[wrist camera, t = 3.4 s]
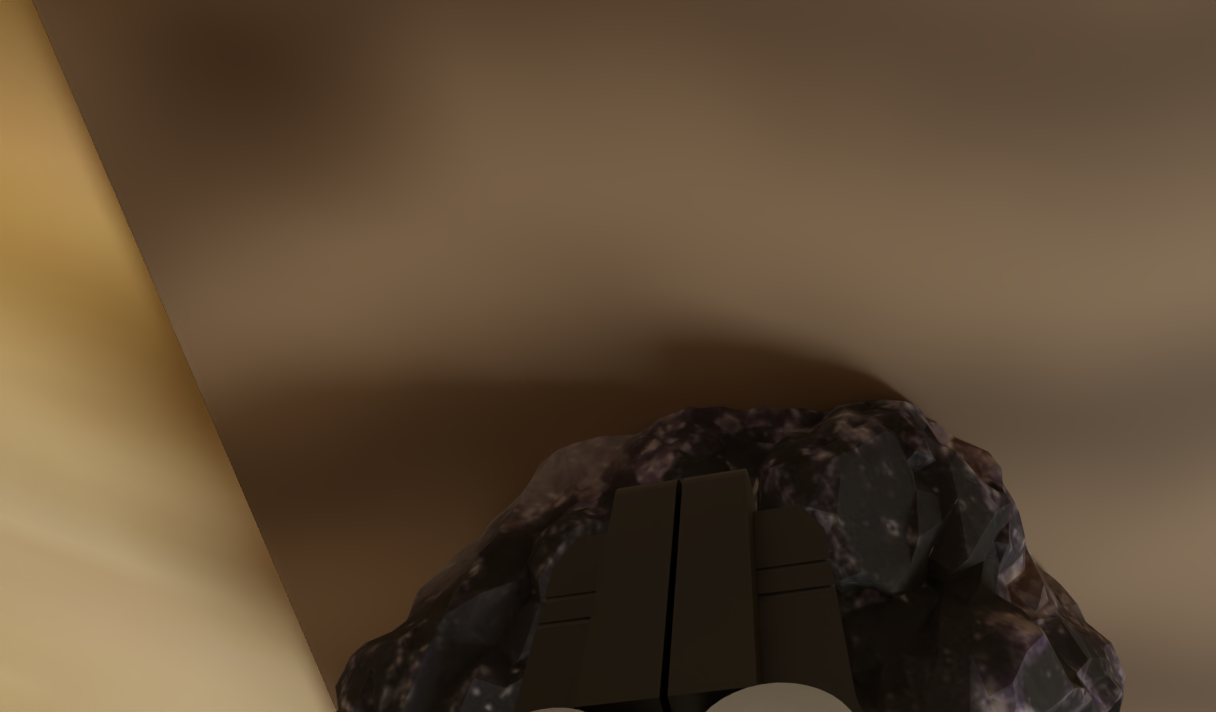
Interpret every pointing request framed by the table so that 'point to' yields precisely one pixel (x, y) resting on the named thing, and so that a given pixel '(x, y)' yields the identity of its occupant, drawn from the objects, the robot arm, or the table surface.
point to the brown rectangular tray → (680, 260)
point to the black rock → (858, 548)
